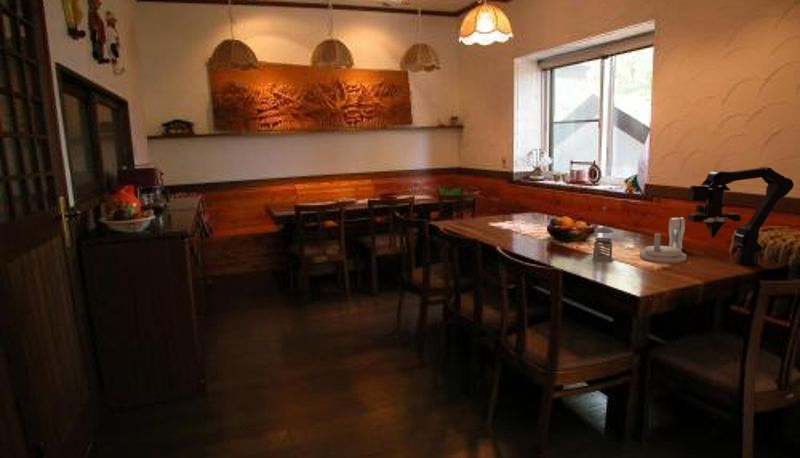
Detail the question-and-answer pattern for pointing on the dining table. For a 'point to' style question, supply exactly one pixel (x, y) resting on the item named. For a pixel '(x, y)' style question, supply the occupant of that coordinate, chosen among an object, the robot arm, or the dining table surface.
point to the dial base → (663, 258)
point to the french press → (605, 243)
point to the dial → (662, 249)
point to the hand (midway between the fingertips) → (712, 237)
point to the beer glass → (676, 231)
